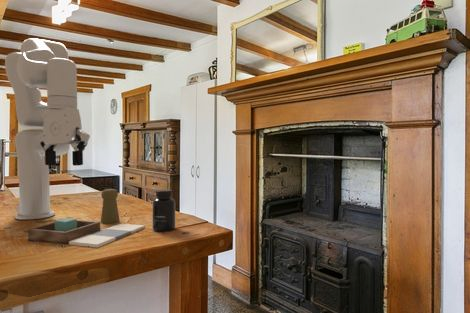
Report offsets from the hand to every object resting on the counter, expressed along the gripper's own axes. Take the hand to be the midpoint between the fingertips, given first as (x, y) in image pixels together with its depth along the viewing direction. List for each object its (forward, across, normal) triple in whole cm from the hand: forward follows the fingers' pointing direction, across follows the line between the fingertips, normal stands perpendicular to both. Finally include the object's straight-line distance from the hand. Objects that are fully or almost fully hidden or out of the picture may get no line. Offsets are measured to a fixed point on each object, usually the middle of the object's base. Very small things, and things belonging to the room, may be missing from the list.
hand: (64, 165), depth 97 cm
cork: (+20, 0, +19) cm, 28 cm away
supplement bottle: (+20, +23, +15) cm, 34 cm away
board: (+20, +12, +4) cm, 24 cm away
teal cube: (+20, 0, 0) cm, 20 cm away
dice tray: (+20, 0, 0) cm, 20 cm away
